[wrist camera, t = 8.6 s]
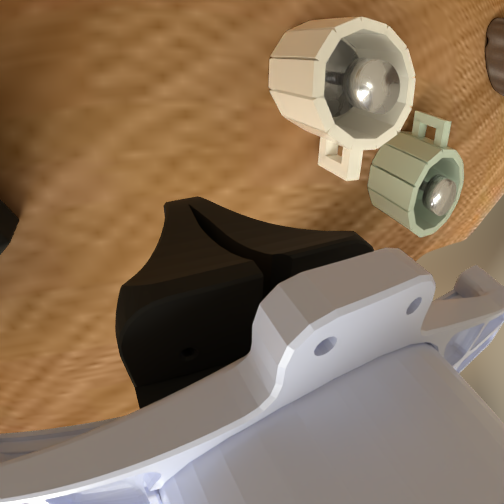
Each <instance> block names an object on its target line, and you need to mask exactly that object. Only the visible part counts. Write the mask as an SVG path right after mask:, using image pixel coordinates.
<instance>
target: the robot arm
mask: <svg viewBox="0 0 504 504" xmlns="http://www.w3.org/2000/svg"><path fill="white" fill-rule="evenodd" d="M164 213H165V222H164V227H163V230H162V233H161V237H160V239H159V242H158V244H157V246H156V248H155V250H154V252H153V254H152V255H151V257H150V259H149V260H148V262H147V263H146V264H145V265H144V267H143V268H142V269H141V270H140V271H139V272H138V273H137V274H136V275H135V276H133V277H132V278H131V279H130V280H129V281H127V282H126V283H125V284H123V285H122V287H121V289H120V293H119V298H118V303H117V310H116V325H115V328H116V338H117V344H118V349H119V353H120V357H121V359H122V361H123V363H124V366H125V368H126V370H127V372H128V374H129V376H130V378H131V381H132V383H133V385H134V387H135V391H136V395H137V399H138V403H139V407H140V409H139V410H137V411H135V412H132V413H130V414H128V415H126V416H122V417H117V418H113V419H108V420H102V421H97V422H91V423H86V424H80V425H74V426H67V427H60V428H53V429H45V430H37V431H28V432H17V433H5V434H0V504H504V423H503V422H502V421H501V420H500V419H499V417H498V416H497V415H496V414H495V413H494V412H493V411H492V409H491V408H490V407H489V406H488V405H487V404H486V403H485V402H484V401H483V399H482V398H481V397H480V396H479V395H478V394H477V393H476V392H475V391H474V390H473V388H472V387H471V386H470V385H469V384H468V383H467V382H466V381H465V380H464V379H463V378H462V377H461V375H460V374H459V373H460V372H461V371H462V370H463V369H464V368H465V367H466V366H467V365H468V364H469V363H470V362H471V361H472V360H473V359H474V358H475V357H476V356H478V355H479V354H480V353H481V352H482V351H483V350H484V349H485V348H486V347H487V346H488V345H489V344H490V343H491V341H492V340H493V338H494V337H495V335H496V333H497V332H498V331H499V329H500V327H501V326H502V324H503V323H504V286H502V285H501V284H500V283H499V282H497V281H496V280H495V279H494V278H493V277H491V276H490V275H489V274H488V273H486V272H485V271H484V270H482V269H481V268H480V267H479V266H477V265H474V266H472V267H470V268H468V269H466V270H464V271H463V272H462V273H461V274H460V275H459V277H458V279H457V281H456V283H455V286H454V290H452V291H450V292H448V293H446V294H445V295H443V296H441V297H439V298H438V299H436V300H434V301H432V300H433V296H434V292H435V281H434V279H433V277H432V275H431V274H430V273H429V272H428V271H427V270H425V269H424V268H423V267H422V266H421V265H419V264H418V263H416V261H414V260H413V259H412V258H411V257H409V256H408V255H407V254H405V253H404V252H403V251H402V250H400V249H399V248H383V249H380V250H376V251H374V249H373V247H372V246H371V245H370V244H369V243H367V242H366V241H365V240H364V239H363V238H361V237H360V236H359V235H358V234H357V233H355V232H354V231H318V230H306V229H297V228H291V227H285V226H280V225H275V224H270V223H267V222H263V221H259V220H256V219H253V218H249V217H247V216H244V215H241V214H238V213H236V212H233V211H231V210H229V209H226V208H224V207H222V206H220V205H217V204H215V203H213V202H211V201H209V200H206V199H204V198H201V197H192V198H187V199H181V200H176V201H171V202H166V203H165V205H164Z"/></svg>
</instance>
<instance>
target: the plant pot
mask: <svg viewBox="0 0 504 504" xmlns="http://www.w3.org/2000/svg"><path fill="white" fill-rule="evenodd" d="M486 35H487V37H488V39H489V41H488V45H487V46H486V47H485V54H486V65H487V70H488V75H489V78H490V81H491V84H492V86H493V88H494V90H495V91H497V92H498V93H500V94H501V95H502V96H504V18H496V19H494V20H493V21H492V22H491V23H490V25H489V27H488V30H487V34H486Z"/></svg>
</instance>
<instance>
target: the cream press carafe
mask: <svg viewBox="0 0 504 504" xmlns="http://www.w3.org/2000/svg"><path fill="white" fill-rule="evenodd" d="M340 40H342V41H344V42H346V43H347V44H348V45H349V46H351V47H352V48H353V50H354V51H355V52H356V54H357V55H358V57H359V58H371V59H378V60H384V61H387V62H389V63H390V64H391V65H392V66H393V67H394V68H395V70H396V71H397V73H398V76H399V80H400V93H399V97H398V100H397V102H396V104H395V105H394V107H393V108H392V109H391V110H390V111H389V112H387V113H384V114H374V113H371V112H368V111H365V110H362V109H358V108H356V107H354V106H353V107H352V108H351V109H350V110H349V111H347V112H346V113H344V114H342V115H340V116H338V117H332V115H331V112H330V110H329V107H328V105H327V103H326V100H325V98H324V86H325V69H326V62H327V61H328V59H329V57H330V56H331V54H332V52H333V51H334V49H335V47H336V46H337V44H338V42H339V41H340ZM406 47H407V46H406V45H405V43H404V42H403V41H402V40H401V39H400V38H399V36H398V35H397V34H396V33H395V32H394V31H393V29H392V28H391V27H390V26H387V24H385V23H381V22H378V21H375V20H372V19H368V18H365V17H346V18H331V19H320V20H310V21H308V22H305V23H303V24H301V25H298V26H296V27H294V28H292V29H290V30H288V31H287V32H285V33H284V35H283V36H282V38H281V39H280V41H279V43H278V44H277V46H276V47H275V49H274V51H273V52H272V54H271V57H272V58H271V59H269V88H270V89H271V90H269V91H270V93H271V95H272V97H273V99H274V101H275V103H276V105H277V107H278V109H279V111H280V113H281V115H282V116H284V118H286V119H287V120H289V121H291V122H292V123H294V124H295V125H297V126H299V127H300V128H302V129H303V130H305V131H308V132H310V133H312V134H315V135H317V136H320V147H319V157H318V165H319V166H321V167H323V168H325V169H326V170H328V171H330V172H332V173H333V174H335V175H337V176H338V177H340V178H342V179H344V180H345V181H352V180H359V176H360V169H361V162H362V155H363V150H375V149H376V148H377V149H378V148H379V147H381V146H382V145H383V144H385V143H386V142H388V141H389V140H390V139H392V138H393V137H394V136H396V135H397V132H400V130H401V128H402V126H403V124H404V122H405V121H406V119H407V117H408V115H409V113H410V111H411V109H412V108H411V107H410V106H413V98H414V90H415V80H416V78H412V77H414V76H415V72H414V68H413V64H412V61H411V57H410V54H409V50H408V48H406ZM338 145H340V146H342V147H343V153H342V157H341V156H339V155H337V154H338Z"/></svg>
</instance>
